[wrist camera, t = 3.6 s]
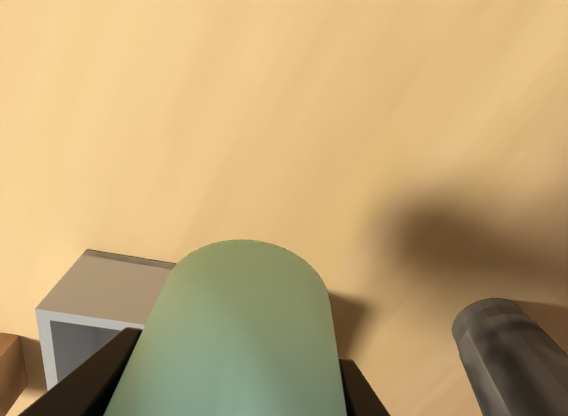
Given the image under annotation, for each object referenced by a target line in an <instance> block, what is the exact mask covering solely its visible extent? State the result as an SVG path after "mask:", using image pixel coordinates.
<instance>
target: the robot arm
mask: <svg viewBox="0 0 568 416" xmlns="http://www.w3.org/2000/svg"><path fill="white" fill-rule="evenodd" d="M142 331H143V330H142V329H140V328H133V327H126V328H124V329H123V330H122V331H121V332H119V333H118V334H117V335H116V336H114V337H113V338H112V339H111V340H110V341H108V342H107V343H106V344H105V345H103V346H102V347H101V348H100V349H99V350H97V351H96V352H95V353H94V354H92V355H91V356H90V357H89V358H88V359H86V360H85V361H84V362H83V363H82V364H80V365H79V366H78V367H77V368H75V369H74V370H73V371H72V372H71V373H69V374H68V375H67V376H66V377H64V378H63V379H62V380H61V381H60V382H58V383H57V384H56V385H55V386H54V387H52V388H51V389H50V390H49V391H47V392H46V393H45V394H44V395H43V396H41V397H40V398H39V399H38V400H36V401H35V402H34V403H33V404H32V405H30V406H29V407H28V408H27V409H25V410H24V411H23V412H22V413H21V414H19V415H18V416H103V415H104V413H105V411H106V409H107V406H108V404H109V402H110V400H111V398H112V396H113V394H114V391H115V389H116V387H117V385H118V383H119V381H120V378H121V376H122V374H123V372H124V370H125V368H126V365H127V363H128V361H129V359H130V357H131V355H132V352H133V350H134V348H135V346H136V344H137V342H138V339H139V337H140V335H141V333H142ZM338 359H339V366H340V372H341V379H342V386H343V392H344V399H345V406H346V412H347V416H390V415H389V413H388V412H387V410H386V409H385V407H384V406H383V404H382V403H381V401H380V400H379V398H378V397H377V395H376V394H375V392H374V391H373V389H372V388H371V386H370V385H369V383H368V382H367V380H366V379H365V377H364V376H363V374H362V373H361V371H360V370H359V368H358V367H357V365H356V364H355V362H354V361H353V360H351V359H346V358H338Z"/></svg>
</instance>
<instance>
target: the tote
mask: <svg viewBox="0 0 568 416" xmlns="http://www.w3.org/2000/svg"><path fill="white" fill-rule="evenodd" d="M176 265H177V264H174V263H168V262H162V261H155V260H149V259H143V258H137V257H131V256H124V255H118V254H112V253H106V252H99V251H93V250H86V251H85V252H84V253H83V254H82V255H81V257H80V258H79V259H78V260H77V261H76V262H75V263H74V265H73V266H72V267H71V268H70V269H69V270H68V272H67V273H66V274H65V275H64V276H63V277H62V278H61V280H60V281H59V282H58V283H57V284H56V285H55V287H54V288H53V289H52V290H51V291H50V292H49V293H48V295H47V296H46V297H45V298H44V299H43V300H42V302H41V303H40V304H39V305H38V306H37V307H36V308H35V311H36V317H37V324H38V331H39V337H40V344H41V351H42V357H43V364H44V371H45V377H46V384H47V391H49V390H50V389H51V388H52V387H54V386H55V385H56V384H57V383H58V382H60V381H61V380H62V379H63V378H64V377H66V376H67V375H68V374H69V373H71V372H72V371H73V370H74V369H75V368H77V367H78V366H79V365H80V364H82V363H83V362H84V361H85V360H86V359H88V358H89V357H90V356H91V355H92V354H94V353H95V352H96V351H97V350H99V349H100V348H101V347H102V346H103V345H105V344H106V343H107V342H108V341H110V340H111V339H112V338H113V337H114V336H116V335H117V334H118V333H119V332H121V331H122V330H123V329H124V328H126V327H133V328H140V329H142V330H143V329H144V326H145V324H146V322H147V320H148V318H149V316H150V313H151V311H152V309H153V307H154V305H155V303H156V300H157V298H158V296H159V294H160V292H161V290H162V287H163V285H164V283H165V281H166V279H167V277H168V275H169V274H170V272H171V271H172V269H173V268H174V267H175V266H176Z"/></svg>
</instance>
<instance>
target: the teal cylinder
mask: <svg viewBox="0 0 568 416" xmlns="http://www.w3.org/2000/svg"><path fill="white" fill-rule="evenodd" d="M103 416H347V412H346V406H345V399H344V392H343V386H342V379H341V372H340V366H339V359H338V352H337V345H336V339H335V332H334V325H333V319H332V312H331V305H330V299H329V295H328V291H327V289H326V286H325V284H324V282H323V280H322V279H321V277H320V276H319V274H318V273H317V272H316V271H315V270H314V269H313V268H312V266H311V265H309V264H308V263H307V262H306V261H305V260H303V259H302V258H301V257H299V256H297V255H296V254H294V253H293V252H291V251H288V250H286V249H284V248H282V247H279V246H276V245H273V244H270V243H266V242H261V241H254V240H229V241H222V242H217V243H213V244H210V245H207V246H204V247H202V248H199V249H198V250H196V251H194V252H192V253H190V254H189V255H187V256H186V257H184V258H183V259H182V260H181V261H180V262H179V263H178V264H177V265H176V266H175V267H174V268H173V269H172V271H171V272H170V274H169V275H168V277H167V279H166V281H165V283H164V285H163V287H162V290H161V292H160V294H159V296H158V298H157V300H156V303H155V305H154V307H153V309H152V311H151V313H150V316H149V318H148V320H147V322H146V324H145V326H144V329H143V331H142V333H141V335H140V337H139V339H138V342H137V344H136V346H135V348H134V350H133V352H132V355H131V357H130V359H129V361H128V363H127V365H126V368H125V370H124V372H123V374H122V376H121V378H120V381H119V383H118V385H117V387H116V389H115V391H114V394H113V396H112V398H111V400H110V402H109V404H108V406H107V409H106V411H105V413H104V415H103Z"/></svg>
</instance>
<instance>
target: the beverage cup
mask: <svg viewBox="0 0 568 416" xmlns="http://www.w3.org/2000/svg"><path fill="white" fill-rule="evenodd" d="M452 333H453V337H454V339H455V341H456V344H457V347H458V350H459V355H460V358H461V361H462V363H463V366H464V368H465V371H466V373H467V376H468V379H469V381H470V384H471V386H472V389H473V391H474V394H475V396H476V399H477V401H478V404H479V406H480V409H481V411H482V414H483V416H568V355H567V354H566V353H565V352H564V351H563V350H562V349H561V348H560V347H559V346H558V345H557V344H556V343H555V342H554V341H553V340H552V339H551V338H550V337H549V336H548V335H547V334H546V333H545V331H544V330H543V329H542V328H541V327H540V326H539V325H538V324H537V323H536V322H534V321H533V320H531V319H530V318H529V317H528V316H527V315H526V314H525V313H523V312H522V310H521V309H520V308H519V307H518V306H517V305H516V304H514V303H513V302H511V301H508V300H505V299H486V300H482V301H478V302H476V303H474V304H472V305H470V306H468V307H466V308H465V309H464V310H463V311H461V312H460V313H459V315H458V316H457V317H456V319H455V320H454V323H453V326H452Z"/></svg>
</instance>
